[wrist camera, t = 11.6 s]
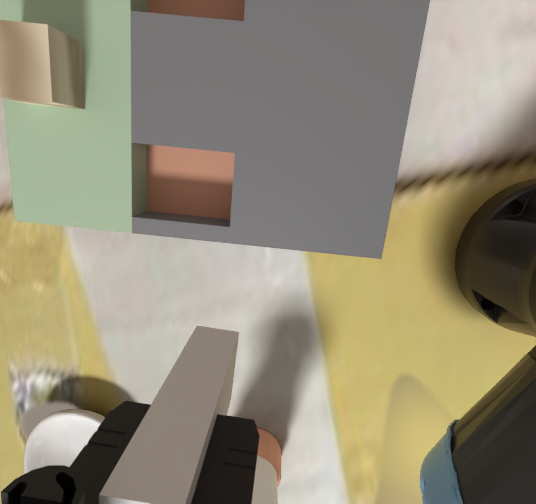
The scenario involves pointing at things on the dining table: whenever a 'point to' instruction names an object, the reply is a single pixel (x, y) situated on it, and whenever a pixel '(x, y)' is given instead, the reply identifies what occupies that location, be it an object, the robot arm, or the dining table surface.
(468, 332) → the dining table surface
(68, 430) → the spoon rest
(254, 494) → the salt shaker
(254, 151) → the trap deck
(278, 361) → the dining table surface
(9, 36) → the birch block
